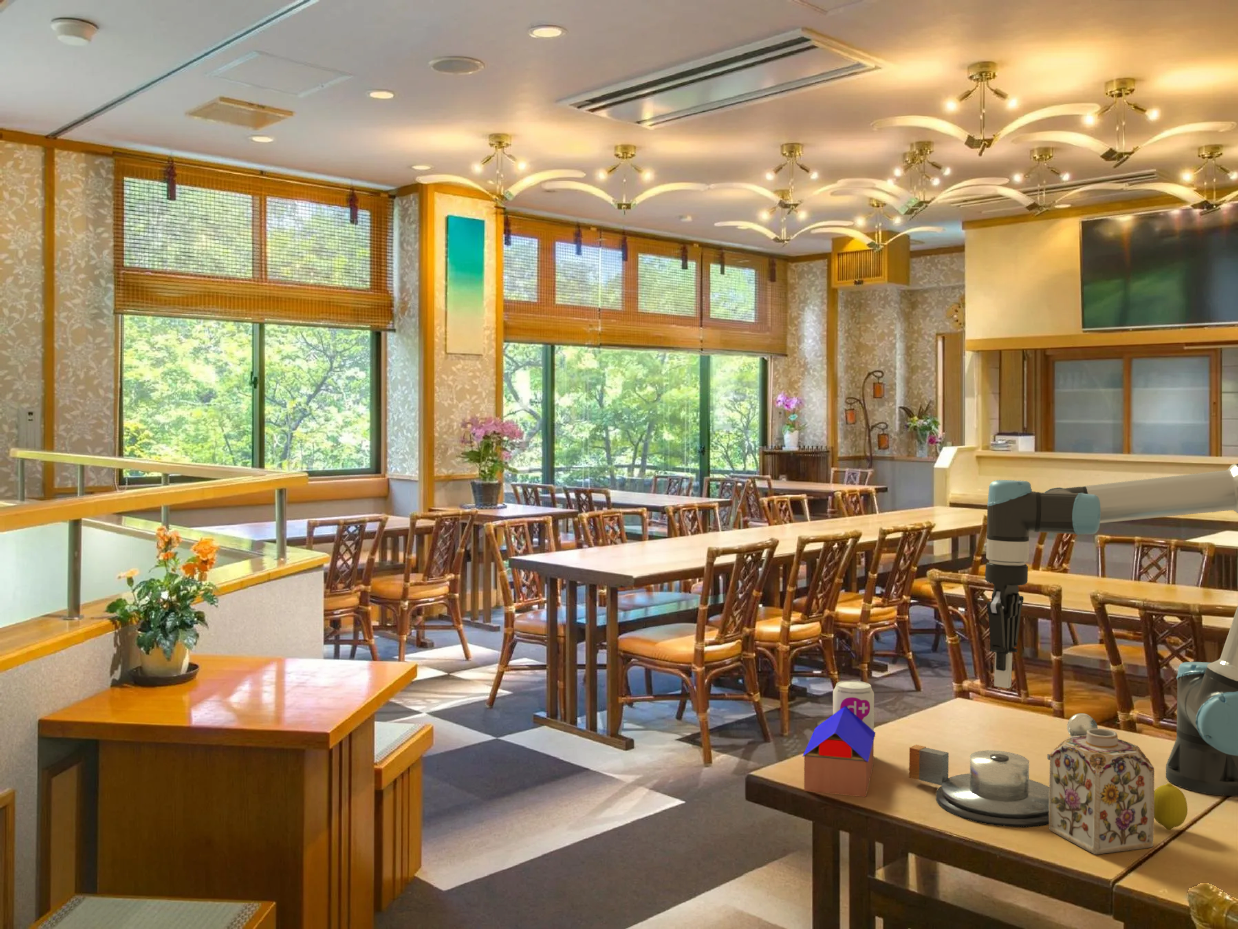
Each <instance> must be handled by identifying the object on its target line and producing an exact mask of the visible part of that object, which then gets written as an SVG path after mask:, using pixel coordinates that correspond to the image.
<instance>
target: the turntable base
mask: <svg viewBox="0 0 1238 929" xmlns="http://www.w3.org/2000/svg"><path fill="white" fill-rule="evenodd" d="M935 792H936V793H935V800H936V804H937V805H938V806H939V807H940V808H941V809H943V810H944V811H946V812H948V813H949V814H952V815H954V816H956V817H959V818H961V819H964V820H967V821H971V822H975V823H979V824H985V825H988V826H989V825H991V826H997V827H1004V828H1038V827H1044V826H1049V814H1047V815H1043V816H1038V817H1027V818H1012V817H1000V816H992V815H986V814H981V813H977V812H973V811H969V810H966V809H963V808H961V807H958V806H956V805H954V804H952V803H950V802H949V801H947V800H946V799H945V798H944V797H943V795H942V786H941V785H939V787H938V788H937V789H936V791H935Z"/></svg>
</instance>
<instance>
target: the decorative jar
mask: <svg viewBox="0 0 1238 929" xmlns="http://www.w3.org/2000/svg"><path fill="white" fill-rule="evenodd" d="M1048 780H1049V782H1048V784H1049V785H1048V787H1049V825H1048V830H1049V831H1050V832H1052V833H1055V834H1056V835H1058V836H1059V837H1061V838H1063V839H1065V840H1067V841H1068V842H1070V843H1073V844H1074V845H1076V846H1078V847H1080V848H1081V849H1083V850H1086V851H1087V852H1089V853H1091V854H1093V855H1095V856H1097V855H1105V854H1111V853H1118V852H1126V851H1133V850H1134V851H1136V850H1140V849H1141V850H1143V849H1149V848H1153V847H1154V838H1155V837H1154V835H1155V834H1154V831H1155V818H1154V791H1155V767H1154V765H1153V764H1152V763H1151V761H1150V760H1149V758H1148V757H1147V756H1146V754H1145V753H1144V752H1143V751H1142V749H1141V748H1140V747H1139V746H1138V745H1136V744H1134V743H1131V742H1128V741H1126V740H1123V739H1119V736H1118V733H1117V731H1114V730H1111V729H1106V728H1098V729H1090V730H1088V731H1087V735H1082V736H1072V737H1071V736H1069V737H1067V738H1065V739H1064V740H1063V741H1062V742H1061V743H1059V744H1058V746H1056V747H1055V748H1054V749H1053V750H1052V751H1051V753H1050V760H1049V779H1048Z"/></svg>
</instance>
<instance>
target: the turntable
mask: <svg viewBox="0 0 1238 929" xmlns="http://www.w3.org/2000/svg"><path fill="white" fill-rule="evenodd" d="M908 754H909V760H908V761H909V762H908V765H909V767H908V768H909V771H908V772H909V774H908V778H909V779H912V780H917V781H922V782H925V783H931V784H934V785H938V786H942V795H943V797H944V798H945V799H946V800H947V801H949V802H950V803H952V804H954V805H956V806H958V807H961V808H963V809H966V810H969V811H973V812H977V813H981V814H986V815H992V816H1000V817H1012V818H1027V817H1038V816H1043V815H1047V814H1049V785H1046V784H1044V783H1042V782H1039V781H1036V780H1032V779H1030V778H1029V796H1028V797H1027V798H1026V799H1024V800H1020V801H996V800H990V799H986V798H982V797H979V796H977V795H975V794H973V793H972V792H971V791H970V772H969V773H962V774H957V775H952V776H951V777H949V752H948V751H947V752H946V751H943V750H938V749H934V748H929V747H927V746H923V745H919V744H915V745H913V746H910V747H909V753H908Z"/></svg>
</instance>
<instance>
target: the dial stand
mask: <svg viewBox="0 0 1238 929" xmlns="http://www.w3.org/2000/svg"><path fill="white" fill-rule="evenodd" d="M1066 725H1067V726H1066V727H1067V728H1066V729H1067V733H1068V734H1069V735H1070V736H1069V737H1072V736H1082V735H1087V731H1088V730H1090V729H1099V727H1098V723H1097V722H1096V720H1095V719H1094V718H1093V717H1092V716H1090V715H1089V714H1087V713H1076V714H1074V715H1072V716H1071V717H1070V718H1069V720H1068V721H1067V724H1066ZM1050 754H1051V753H1050ZM1050 754H1049V753H1048V754H1047V760H1048V761H1050Z"/></svg>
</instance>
